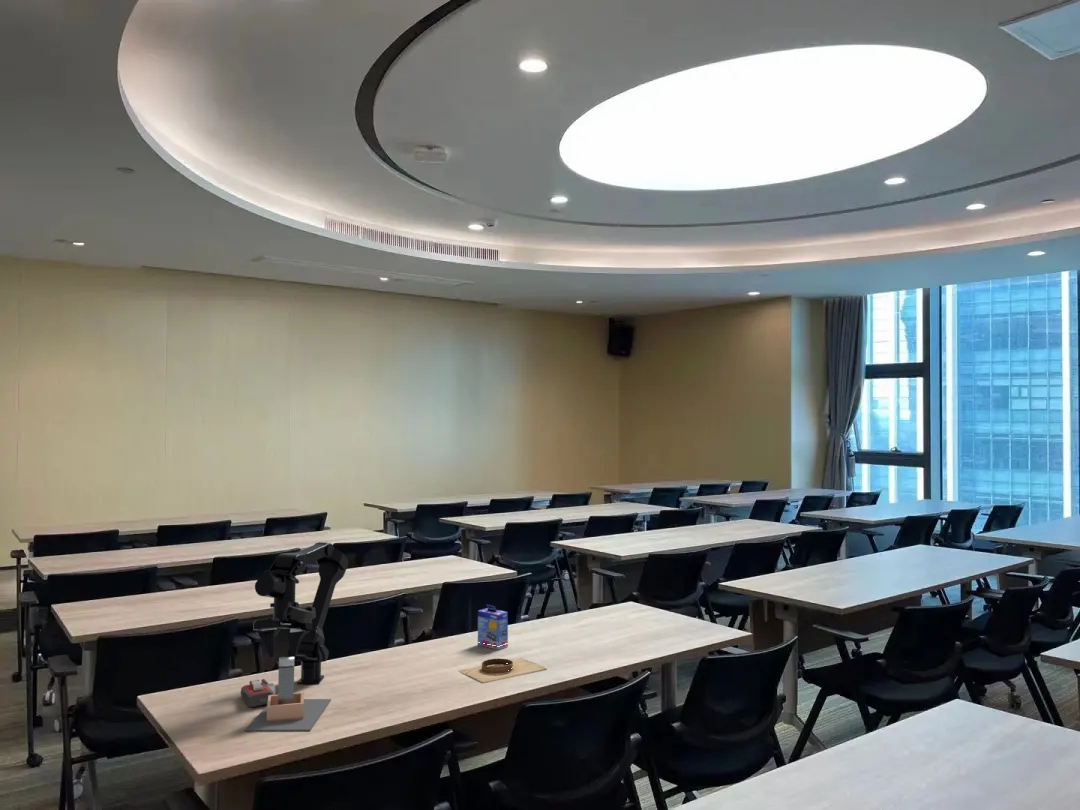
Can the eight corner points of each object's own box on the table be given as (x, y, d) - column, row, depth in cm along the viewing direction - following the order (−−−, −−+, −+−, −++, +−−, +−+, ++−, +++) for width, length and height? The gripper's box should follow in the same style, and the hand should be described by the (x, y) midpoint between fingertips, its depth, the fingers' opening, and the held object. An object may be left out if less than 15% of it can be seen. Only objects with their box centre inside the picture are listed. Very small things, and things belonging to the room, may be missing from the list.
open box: (268, 710, 204) (268, 695, 204) (303, 707, 207) (303, 692, 207) (266, 722, 196) (266, 706, 196) (303, 719, 198) (303, 703, 198)
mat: (272, 700, 213) (272, 699, 213) (331, 700, 213) (331, 699, 214) (244, 731, 191) (244, 729, 191) (310, 731, 192) (310, 729, 192)
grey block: (278, 710, 202) (279, 655, 203) (293, 709, 203) (294, 654, 204) (277, 715, 199) (278, 659, 200) (293, 714, 200) (294, 658, 201)
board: (481, 686, 229) (481, 675, 229) (455, 673, 241) (455, 663, 241) (548, 671, 244) (548, 661, 244) (520, 659, 256) (520, 650, 256)
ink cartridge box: (476, 645, 270) (477, 603, 271) (486, 642, 275) (487, 601, 276) (498, 650, 265) (498, 607, 265) (508, 646, 269) (508, 604, 270)
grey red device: (283, 702, 210) (266, 684, 227) (283, 686, 210) (266, 668, 227) (249, 709, 205) (235, 690, 222) (249, 692, 205) (234, 674, 222)
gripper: (287, 593, 205) (286, 654, 200) (328, 598, 222) (328, 655, 217) (253, 598, 209) (250, 658, 203) (295, 602, 225) (294, 658, 220)
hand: (282, 657), depth 211 cm, fingers open, 9 cm apart
